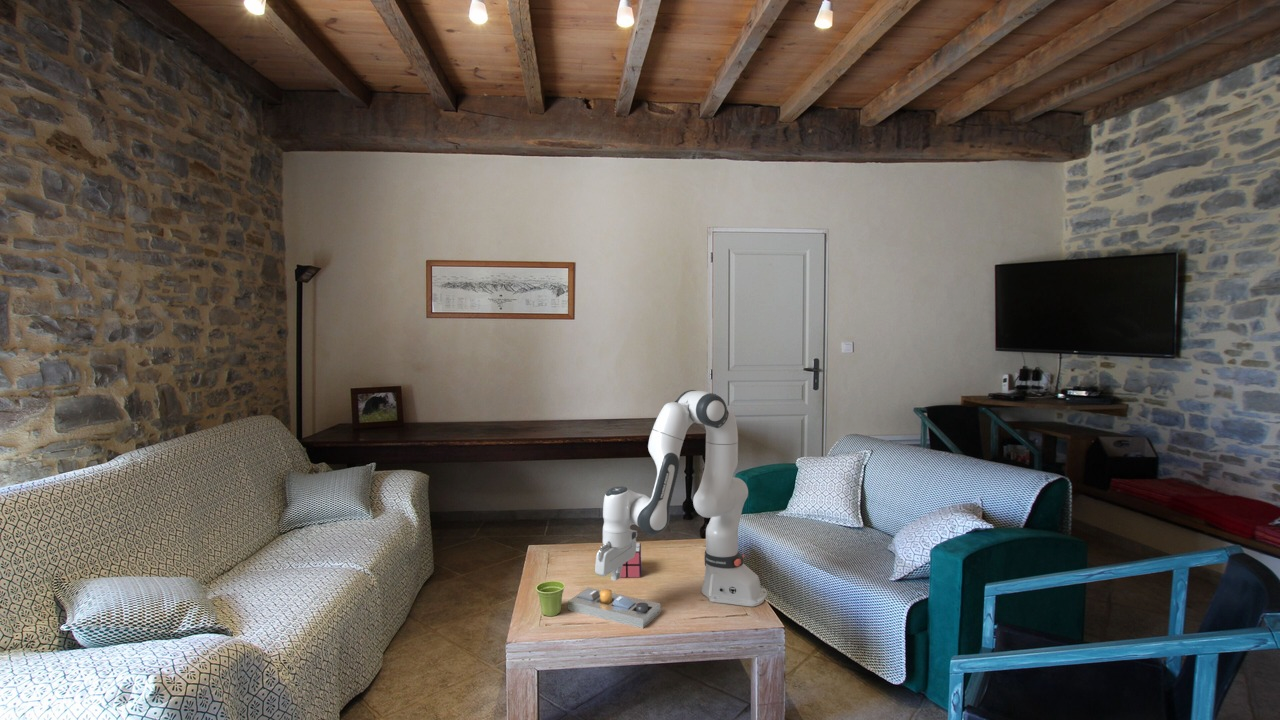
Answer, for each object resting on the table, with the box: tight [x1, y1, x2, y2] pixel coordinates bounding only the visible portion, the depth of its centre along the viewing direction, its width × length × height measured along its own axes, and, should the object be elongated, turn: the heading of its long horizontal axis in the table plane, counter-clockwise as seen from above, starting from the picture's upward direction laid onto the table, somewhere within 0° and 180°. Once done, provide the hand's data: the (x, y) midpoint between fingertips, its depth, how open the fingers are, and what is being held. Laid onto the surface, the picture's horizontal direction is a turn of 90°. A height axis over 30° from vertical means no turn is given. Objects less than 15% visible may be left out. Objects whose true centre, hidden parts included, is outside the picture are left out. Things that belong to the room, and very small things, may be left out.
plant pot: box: [535, 580, 566, 617], centre depth 202 cm, size 9×9×9 cm
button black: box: [636, 603, 648, 614], centre depth 197 cm, size 4×4×4 cm
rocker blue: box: [613, 594, 635, 610], centre depth 200 cm, size 6×4×2 cm
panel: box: [567, 587, 662, 629], centre depth 202 cm, size 28×12×3 cm, turn 61°
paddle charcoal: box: [578, 589, 599, 601], centre depth 207 cm, size 6×4×2 cm
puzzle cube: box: [619, 542, 642, 579], centre depth 234 cm, size 10×10×10 cm
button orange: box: [600, 588, 613, 605], centre depth 204 cm, size 4×4×4 cm
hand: (615, 579), depth 201 cm, fingers closed
